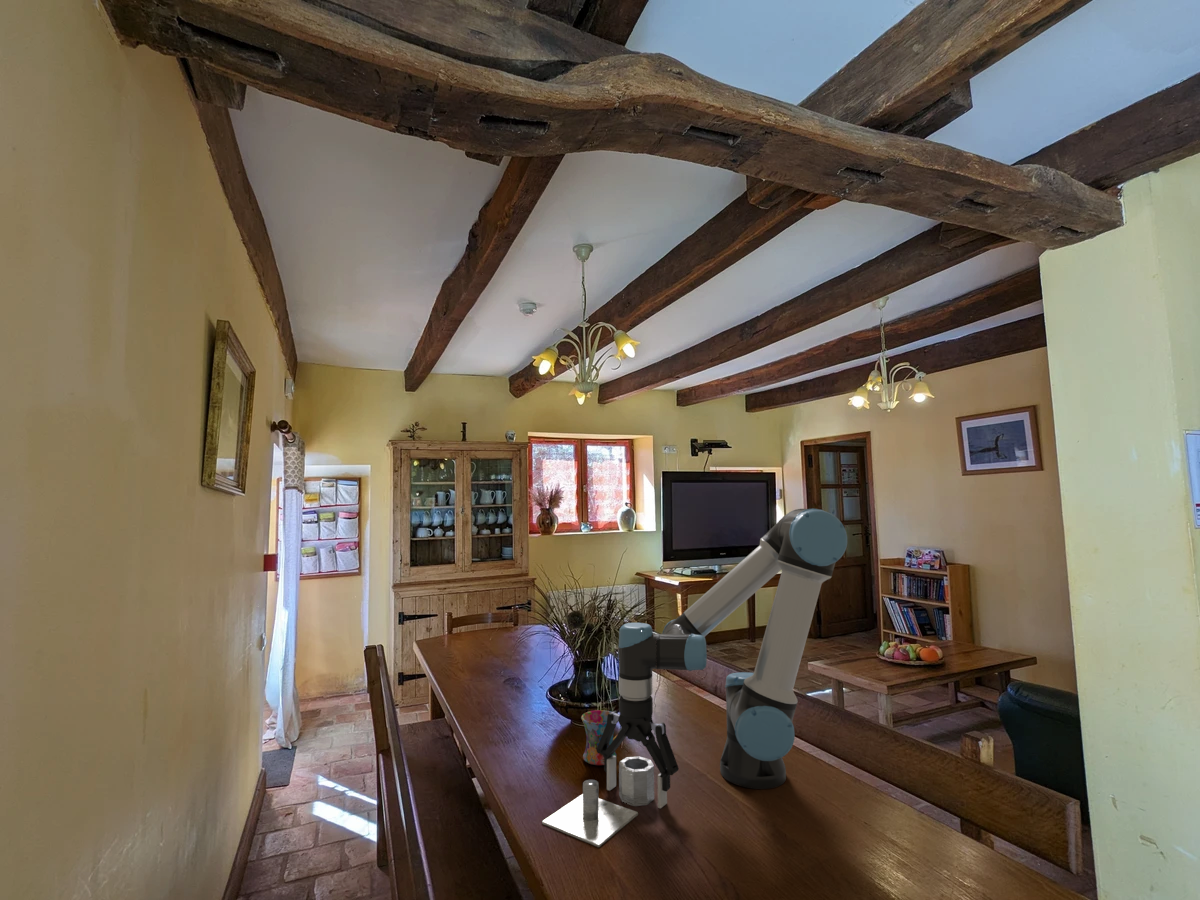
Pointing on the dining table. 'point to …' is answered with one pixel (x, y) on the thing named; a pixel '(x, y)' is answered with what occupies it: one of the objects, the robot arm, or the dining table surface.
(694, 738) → the dining table surface
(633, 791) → the grey hollow octagonal block
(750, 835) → the dining table surface
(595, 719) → the mug
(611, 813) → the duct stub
